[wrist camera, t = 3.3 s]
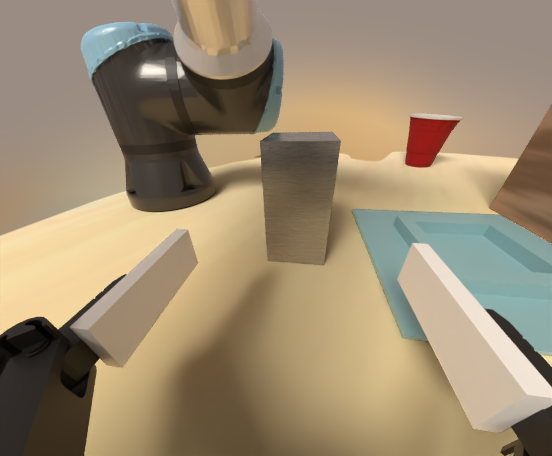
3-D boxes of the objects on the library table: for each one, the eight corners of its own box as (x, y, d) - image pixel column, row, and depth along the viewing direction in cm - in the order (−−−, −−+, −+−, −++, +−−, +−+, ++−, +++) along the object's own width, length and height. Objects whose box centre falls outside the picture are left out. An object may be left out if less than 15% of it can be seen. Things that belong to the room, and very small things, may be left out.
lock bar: (267, 260, 21) (259, 141, 15) (275, 231, 26) (272, 132, 20) (323, 265, 20) (340, 140, 14) (321, 233, 26) (332, 132, 19)
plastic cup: (440, 172, 47) (464, 114, 40) (391, 166, 53) (405, 114, 46) (445, 163, 54) (466, 112, 47) (400, 158, 60) (414, 113, 53)
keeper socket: (402, 338, 14) (411, 321, 13) (351, 211, 31) (353, 200, 30) (784, 384, 11) (833, 368, 10) (497, 217, 28) (505, 204, 27)
